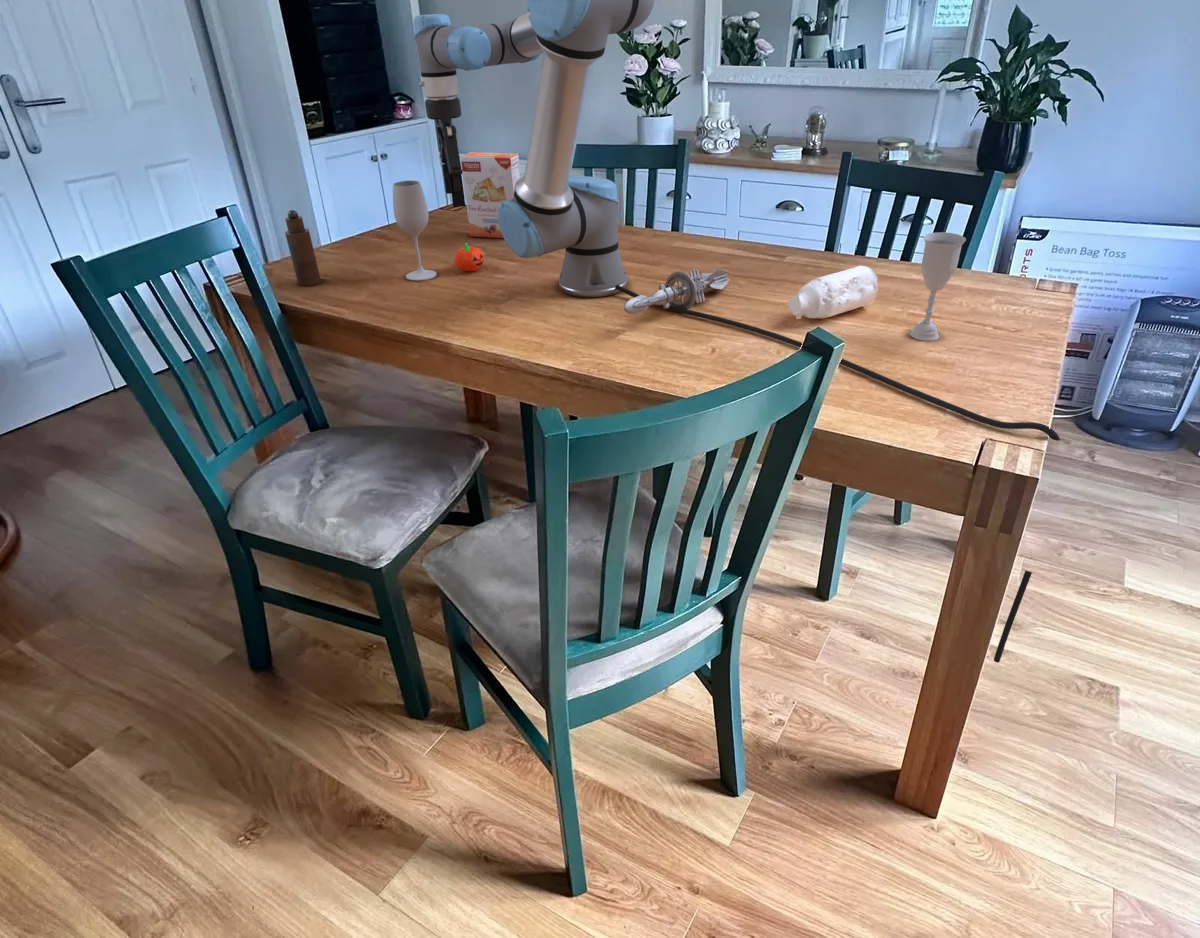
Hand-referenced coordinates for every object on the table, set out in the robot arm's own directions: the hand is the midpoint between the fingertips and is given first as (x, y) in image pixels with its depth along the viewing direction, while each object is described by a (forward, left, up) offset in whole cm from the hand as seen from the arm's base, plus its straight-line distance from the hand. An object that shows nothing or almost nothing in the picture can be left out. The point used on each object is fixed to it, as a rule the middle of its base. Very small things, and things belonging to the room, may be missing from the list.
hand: (455, 199), depth 176 cm
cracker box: (+15, -23, -16) cm, 32 cm away
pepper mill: (+23, +29, -16) cm, 40 cm away
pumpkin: (-1, 0, -16) cm, 16 cm away
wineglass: (+5, +10, -16) cm, 20 cm away
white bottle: (-83, -25, -16) cm, 89 cm away
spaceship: (-57, -9, -16) cm, 61 cm away
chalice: (-101, -26, -16) cm, 106 cm away
